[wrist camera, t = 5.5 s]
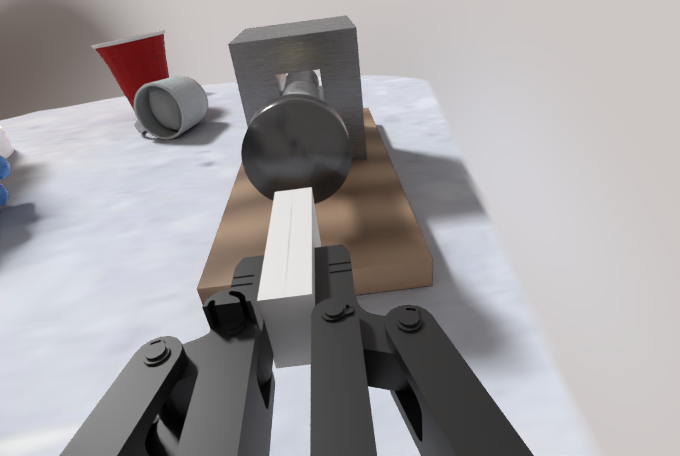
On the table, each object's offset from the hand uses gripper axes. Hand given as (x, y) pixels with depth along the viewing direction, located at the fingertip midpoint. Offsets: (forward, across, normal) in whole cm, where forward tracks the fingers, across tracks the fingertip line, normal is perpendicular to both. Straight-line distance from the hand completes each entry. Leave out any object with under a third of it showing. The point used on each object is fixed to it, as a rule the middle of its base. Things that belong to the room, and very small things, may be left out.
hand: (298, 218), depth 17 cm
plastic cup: (+57, -27, -9) cm, 63 cm away
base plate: (+22, 0, -8) cm, 23 cm away
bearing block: (+26, 0, -6) cm, 26 cm away
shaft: (+16, 0, -3) cm, 16 cm away
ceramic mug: (+45, -21, -9) cm, 50 cm away
